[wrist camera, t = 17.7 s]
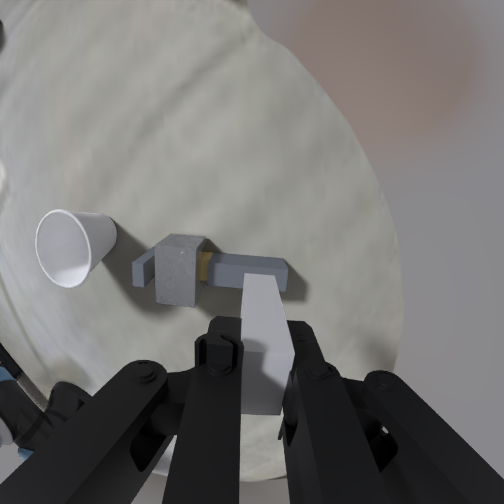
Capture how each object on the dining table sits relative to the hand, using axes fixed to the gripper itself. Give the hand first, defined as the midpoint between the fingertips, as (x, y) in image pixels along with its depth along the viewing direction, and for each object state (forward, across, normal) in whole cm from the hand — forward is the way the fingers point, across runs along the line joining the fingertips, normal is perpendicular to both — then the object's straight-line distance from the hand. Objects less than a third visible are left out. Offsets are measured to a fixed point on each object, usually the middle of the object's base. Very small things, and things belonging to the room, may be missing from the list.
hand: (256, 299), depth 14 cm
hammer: (+24, -4, -6) cm, 25 cm away
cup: (+25, -23, -3) cm, 34 cm away
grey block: (+24, -9, -6) cm, 26 cm away
